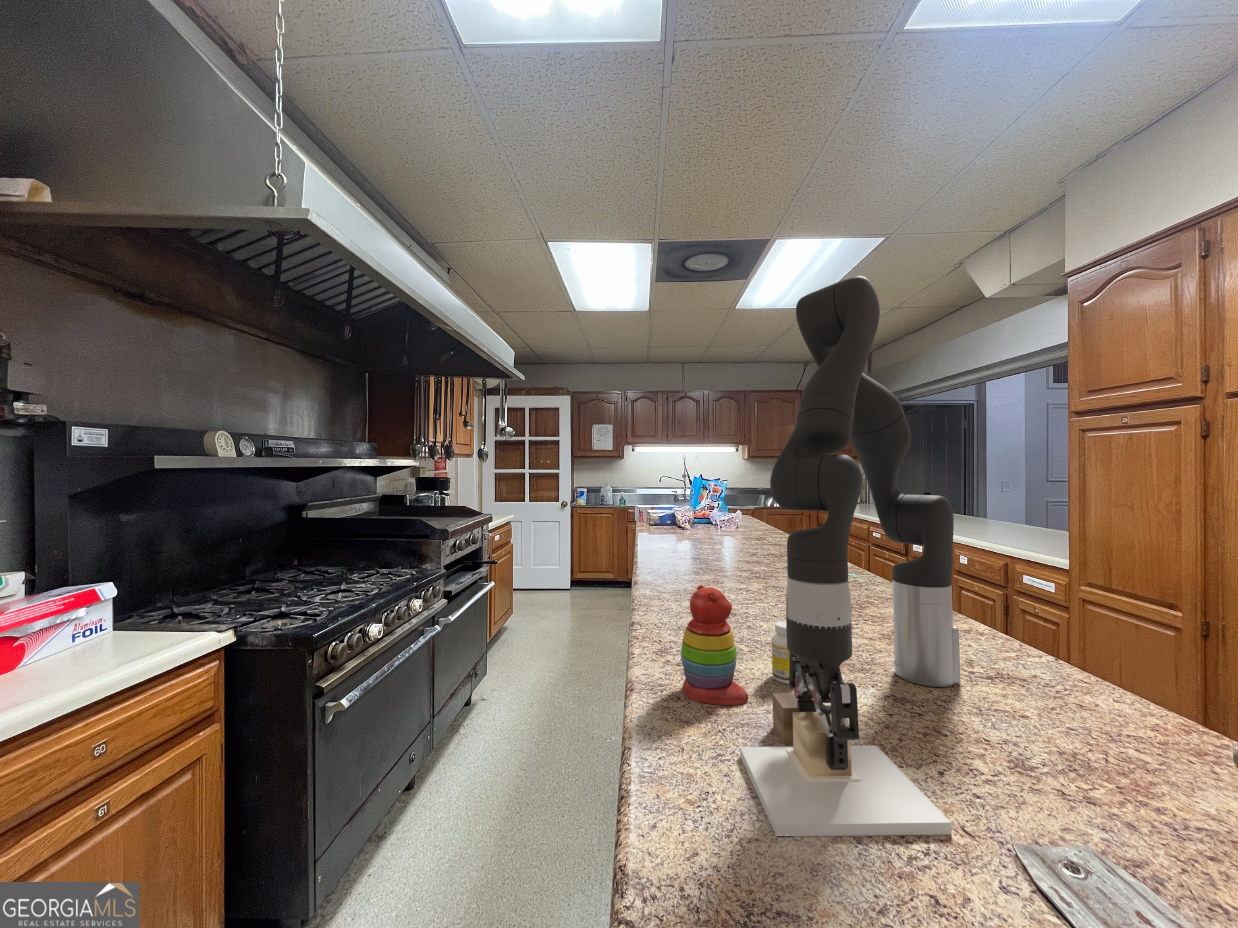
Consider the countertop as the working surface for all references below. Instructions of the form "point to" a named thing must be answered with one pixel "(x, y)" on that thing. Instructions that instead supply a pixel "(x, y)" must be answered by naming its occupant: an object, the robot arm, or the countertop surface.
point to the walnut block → (784, 715)
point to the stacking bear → (710, 651)
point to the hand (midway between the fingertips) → (820, 747)
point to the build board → (840, 796)
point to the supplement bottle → (780, 654)
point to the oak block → (814, 745)
